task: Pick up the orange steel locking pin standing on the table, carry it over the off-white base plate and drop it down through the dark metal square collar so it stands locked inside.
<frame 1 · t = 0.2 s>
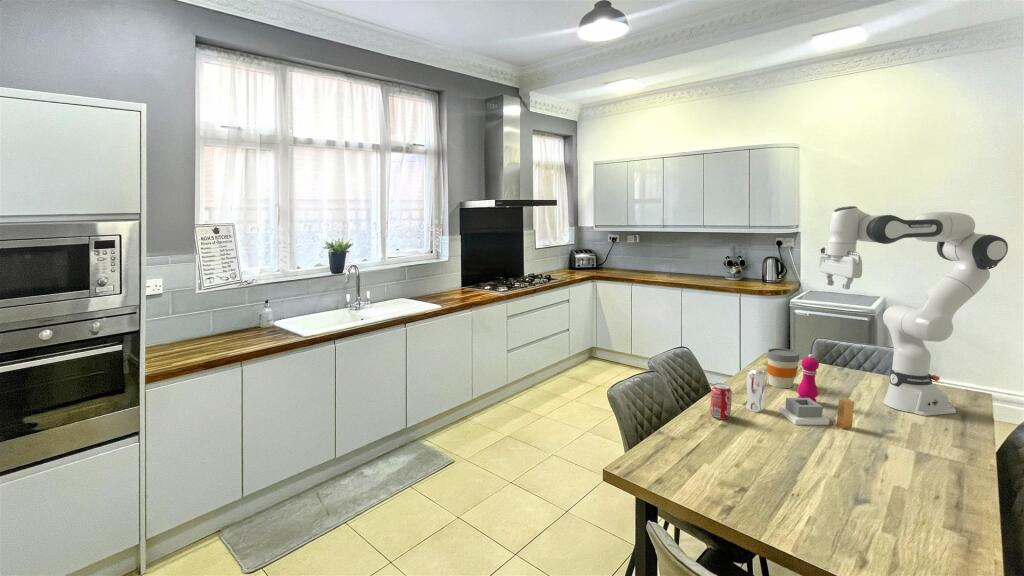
hand: (837, 287, 184), 47 cm above the table, tool pointing down, fingers open, 8 cm apart
socket: (802, 417, 181), on the table
reusable coffee cup: (780, 385, 216), on the table
transparent flared vessel: (754, 409, 190), on the table
soda can: (720, 416, 183), on the table
pepper mill: (806, 402, 196), on the table
pin: (843, 427, 173), on the table
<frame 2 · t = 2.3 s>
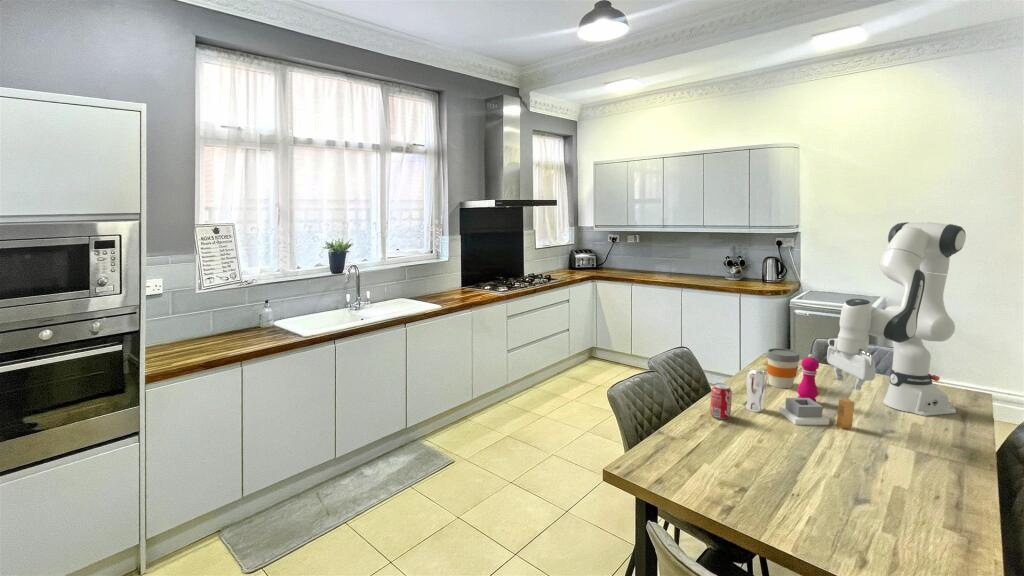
hand: (847, 384, 171), 16 cm above the table, tool pointing down, fingers open, 8 cm apart
nothing on the table moved.
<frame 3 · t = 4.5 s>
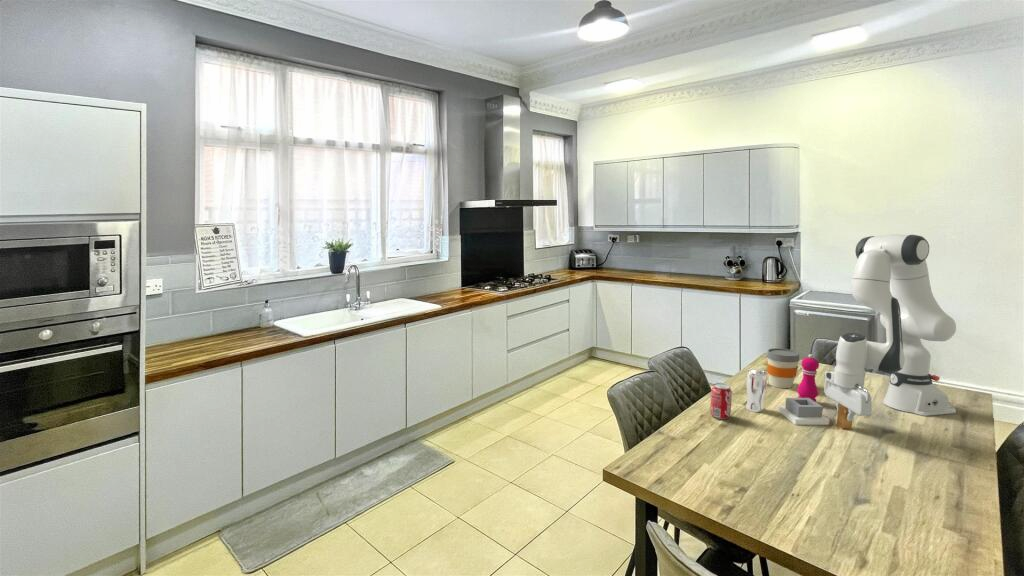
hand: (844, 417, 173), 4 cm above the table, tool pointing down, fingers closed on pin, 3 cm apart
pin: (843, 427, 173), on the table, touching gripper
everything else where it was.
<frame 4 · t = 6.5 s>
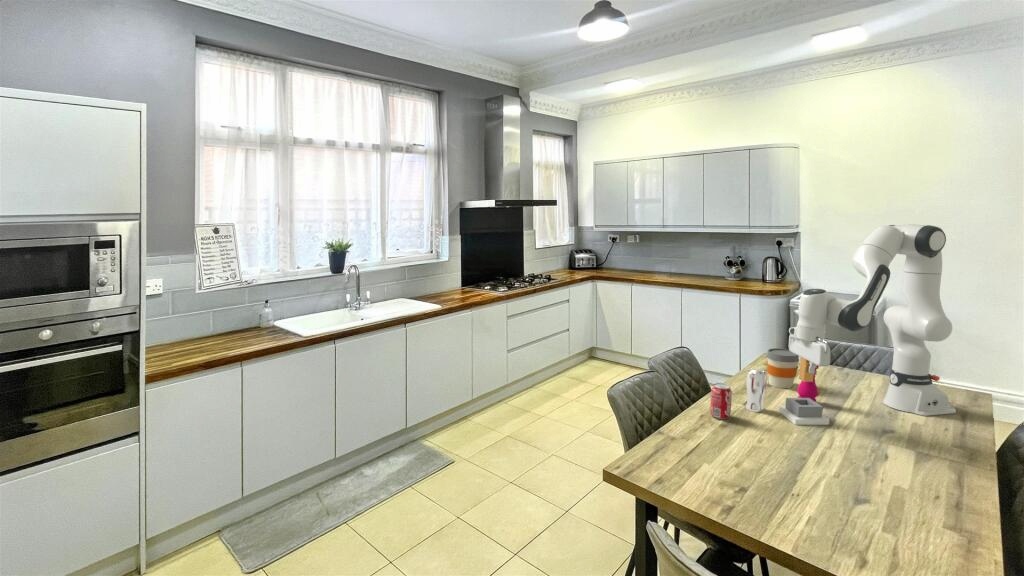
hand: (806, 370, 178), 18 cm above the table, tool pointing down, fingers closed on pin, 3 cm apart
pin: (805, 380, 179), point 15 cm above the table, touching gripper
everything else where it was.
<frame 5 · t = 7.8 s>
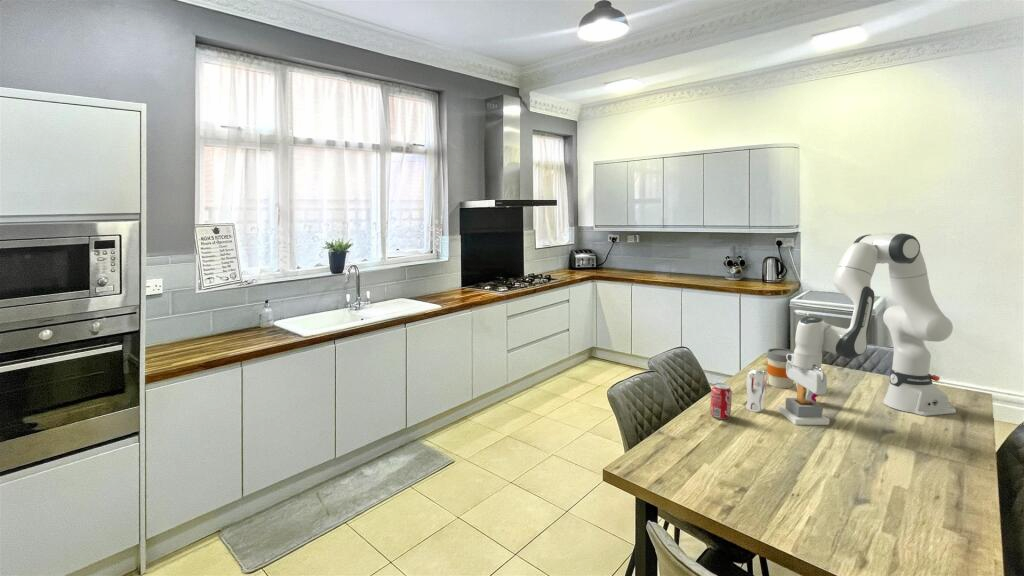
hand: (803, 397, 180), 8 cm above the table, tool pointing down, fingers closed on pin, 3 cm apart
pin: (802, 406, 181), point 4 cm above the table, touching gripper
everything else where it was.
when the fingers open (7 cm above the table, at t = 8.6 s): pin drops 3 cm, resting in socket.
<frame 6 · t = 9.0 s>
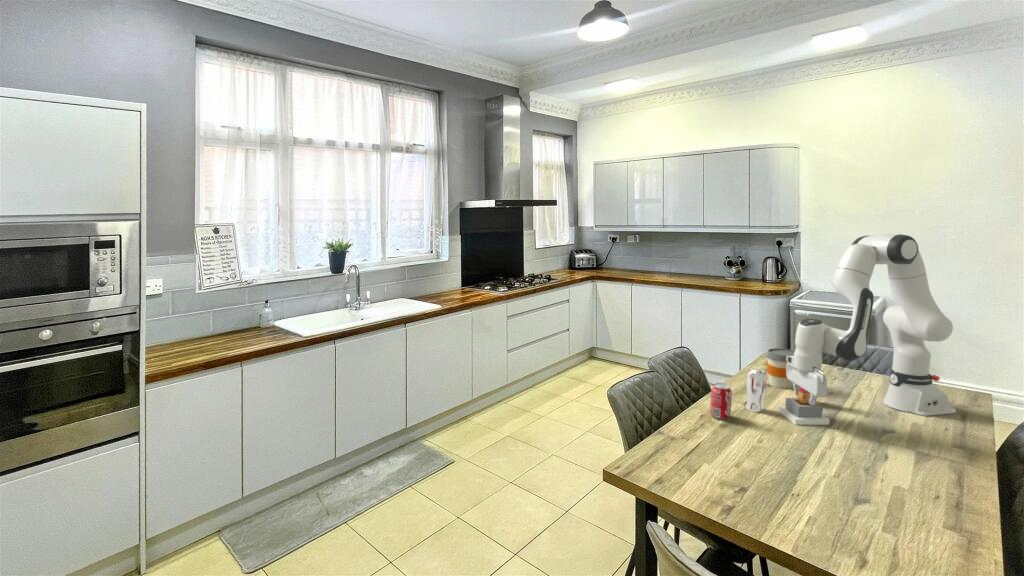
hand: (804, 399, 180), 7 cm above the table, tool pointing down, fingers open, 8 cm apart
pin: (802, 417, 181), resting in socket
everything else where it was.
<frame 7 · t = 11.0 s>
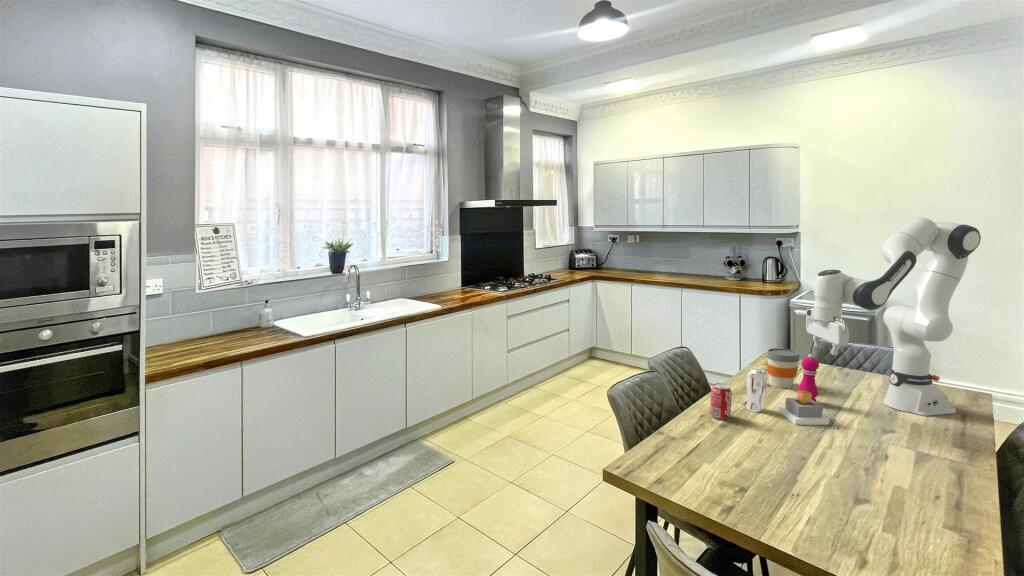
hand: (825, 350, 181), 25 cm above the table, tool pointing down, fingers open, 8 cm apart
nothing on the table moved.
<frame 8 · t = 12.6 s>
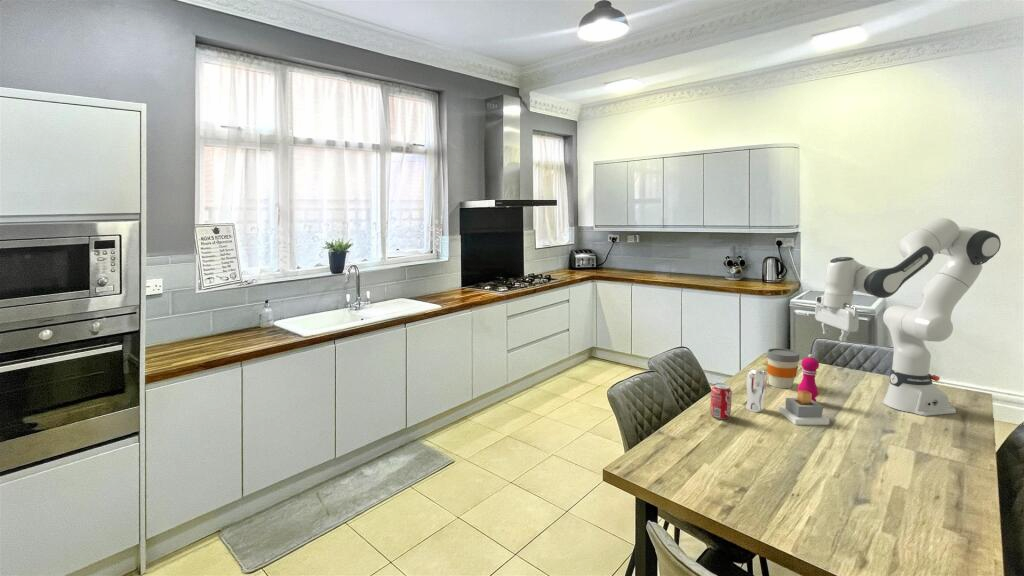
hand: (834, 338, 182), 29 cm above the table, tool pointing down, fingers open, 8 cm apart
nothing on the table moved.
at the end: pin 0.1 cm off-centre on the socket, point 0.0 cm above the socket's base; pin tilted 0°; the gripper is holding nothing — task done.
